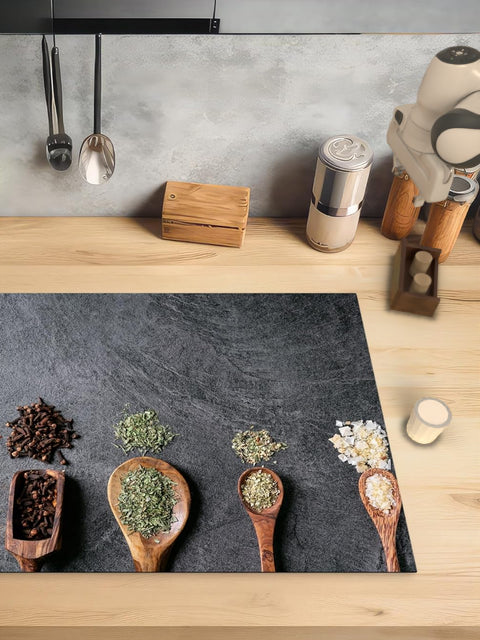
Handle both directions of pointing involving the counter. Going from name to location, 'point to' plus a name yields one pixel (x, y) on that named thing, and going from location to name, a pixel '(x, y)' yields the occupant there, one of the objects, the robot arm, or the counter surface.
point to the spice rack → (415, 279)
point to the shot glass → (428, 420)
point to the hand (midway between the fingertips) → (406, 188)
